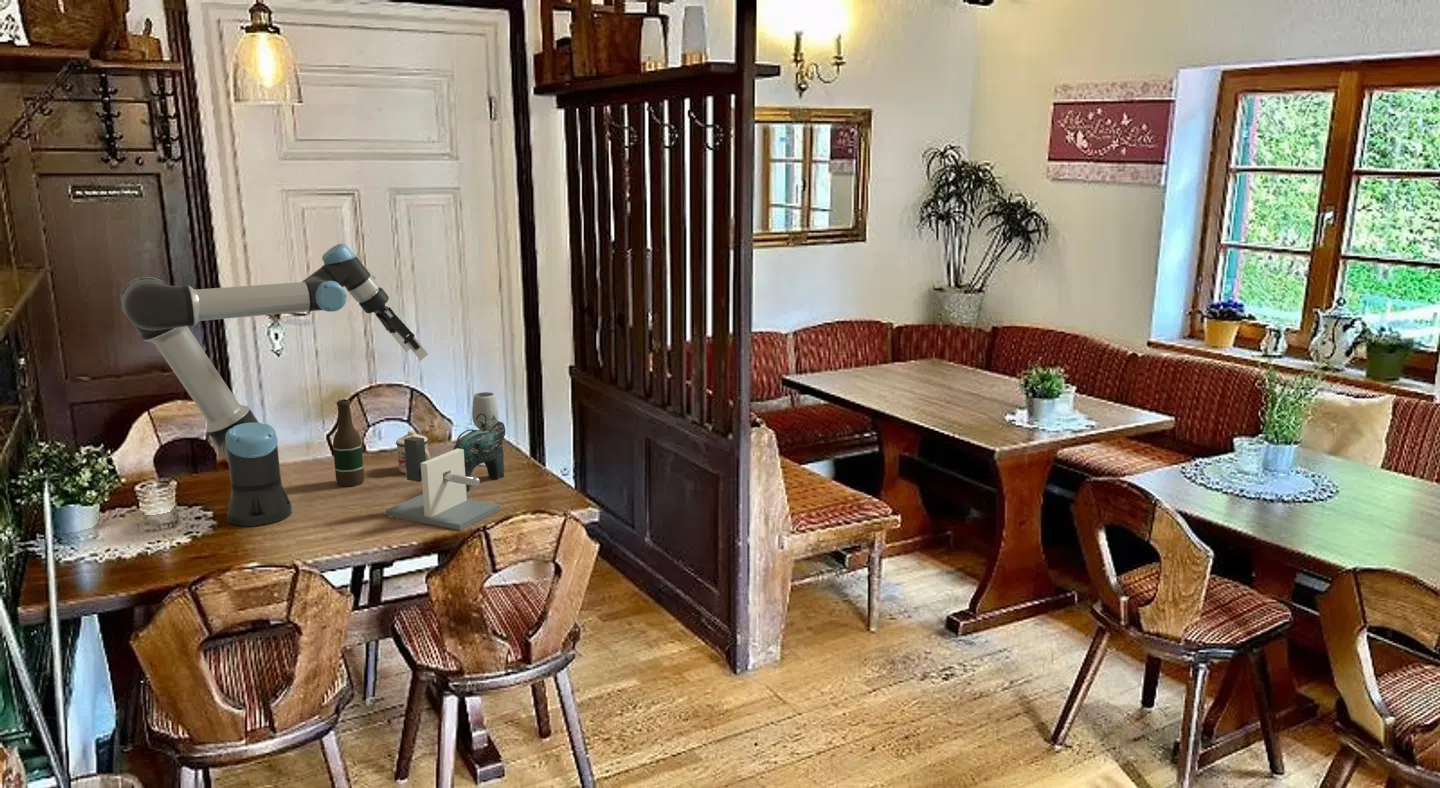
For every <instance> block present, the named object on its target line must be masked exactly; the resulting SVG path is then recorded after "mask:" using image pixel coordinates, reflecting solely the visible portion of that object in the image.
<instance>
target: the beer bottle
mask: <svg viewBox="0 0 1440 788" xmlns="http://www.w3.org/2000/svg"><path fill="white" fill-rule="evenodd" d="M336 407H337V422H338V423H337V424H338V425H337V431H336V432H335V434H334V436H333V441H332V449H333V450H332V451H333V461H334V469H335V470H334V471H335V473H334V474H335V480H336V485H337V486H339V487H342V488H347V487H348V488H349V486H351V487H357V486H360V485H363V484H362V483H364V481H365V469H364V458H363V457H364V455H363V446H362V438H361V435H360V434H359V432H358V430H356V428H355V426H354V424H353V418H352V413H351V401H350V400H349V399H340V400H337V401H336ZM359 484H360V485H359ZM356 485H357V486H356Z"/></svg>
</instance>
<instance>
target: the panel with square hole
mask: <svg viewBox="0 0 1440 788" xmlns="http://www.w3.org/2000/svg"><path fill="white" fill-rule="evenodd" d="M443 473H449V474H455V475H461V476H465V463H464V449H458V448H457V449H455V450H450V451H448V452H445V453H442V454H440V455H438V456H434V457H433V458H430V460H427V461H425V462H422V463H421V476H422V481H421V487H422V494H419V495H417V496H415V497H412V498H411V499H409V500H405V501H403V502H401V503H399V504H397V505H394V506H392V507H390V508H387V509H385V516H386V515H387V516H386V517H389V516H392V517H391V518H394V517H398V518H397V519H399V518H402V519H401V520H404V519H408V520H407V521H409V520H412V522H415V521H416V523H420V522H421V523H420V524H426V525H430V524H431V525H430V526H436V527H441V528H447V529H451V530H456V531H462V530H464V529H466V528H468V527H470V526H471V525H474V524H476V523H478V522H480V521H482V520H484V519H486V518H488V517H489V516H491V515H493V514H496V513H497V512H499V511H501V504H498V503H494V502H489V501H480V500H476V499H470V498H468V496H467V492H466V484H460V483H455V482H449V481H443Z"/></svg>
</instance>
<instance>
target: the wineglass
mask: <svg viewBox="0 0 1440 788" xmlns="http://www.w3.org/2000/svg"><path fill="white" fill-rule="evenodd" d="M497 404H498V403H497V400H496V396H495V393H494V392H489V391H487V392H486V391H485V392H483V391H482V392H476V393H474V394H473V399H472V409H471V417H472V418H471V419H472V423H473V425H474V426H475V427H476V428H477V430H480V427H481V425H482V424H481V423H480V422H479V421H483V422H485V417H484V415H485V416H486V420H491V419H492V416H493V415H494V416H495V418H496V419H497V420H498V421H499V410H498V405H497ZM480 413H482V414H484V415H480V416H479V417H478V419H477V420H476V416H477V415H478V414H480ZM479 465H481V466H480V467H486V465H485V463H481V464H479ZM479 465H478V466H479Z"/></svg>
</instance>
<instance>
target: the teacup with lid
mask: <svg viewBox="0 0 1440 788" xmlns="http://www.w3.org/2000/svg"><path fill="white" fill-rule="evenodd" d="M412 436H413V437H420V438H424V442H425V456H426V461H427V460H430V459H431V455H430V454H431V453H430V452H429V444H428V443H429V439H428V437H427V436H424V435H421V434H418V433H416V431H415V430H408V431H407V434H405V435H404V436H401V437H399V438H397V440H396V442H395V444H396V449H397V451H396V452H397V462H398V465H397V466H398V471H399V472H400V471H401V472H400V473H402V472H403V474H407V470H406V457H405V445H404V439H406V438H409V437H412Z"/></svg>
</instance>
